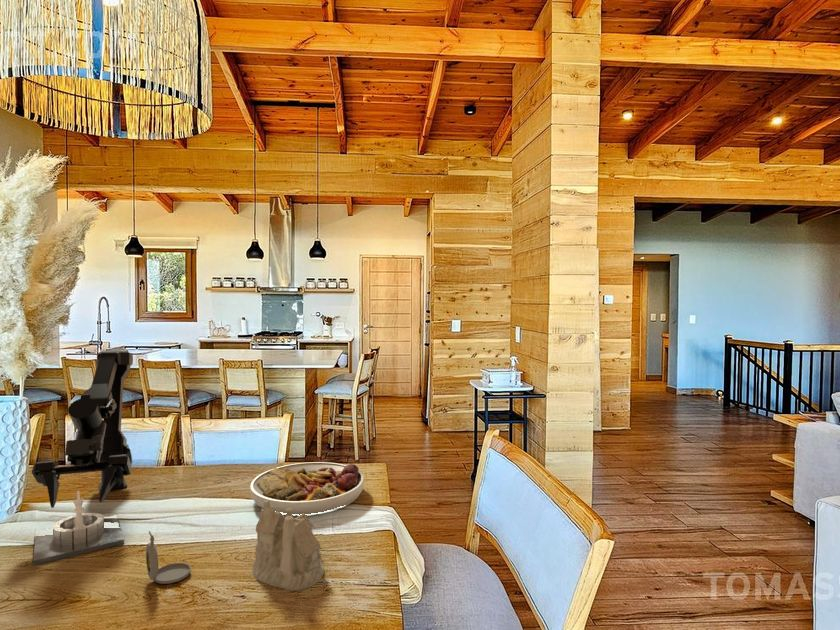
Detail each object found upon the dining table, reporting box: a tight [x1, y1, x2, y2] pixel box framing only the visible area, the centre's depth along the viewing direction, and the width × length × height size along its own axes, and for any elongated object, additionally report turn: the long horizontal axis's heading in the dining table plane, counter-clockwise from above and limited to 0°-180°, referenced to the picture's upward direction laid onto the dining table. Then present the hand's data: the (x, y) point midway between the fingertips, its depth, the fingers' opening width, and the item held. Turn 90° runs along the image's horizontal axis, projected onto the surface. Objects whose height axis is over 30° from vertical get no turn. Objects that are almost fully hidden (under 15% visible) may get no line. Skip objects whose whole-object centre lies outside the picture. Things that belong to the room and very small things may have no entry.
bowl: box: [249, 461, 365, 515], centre depth 141 cm, size 30×30×8 cm
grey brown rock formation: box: [251, 499, 325, 592], centre depth 105 cm, size 16×16×15 cm
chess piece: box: [72, 490, 86, 529], centre depth 116 cm, size 5×5×10 cm
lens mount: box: [32, 512, 125, 566], centre depth 116 cm, size 16×16×4 cm
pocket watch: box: [145, 530, 192, 585], centre depth 100 cm, size 8×8×10 cm
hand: (76, 504), depth 114 cm, fingers open, 9 cm apart
